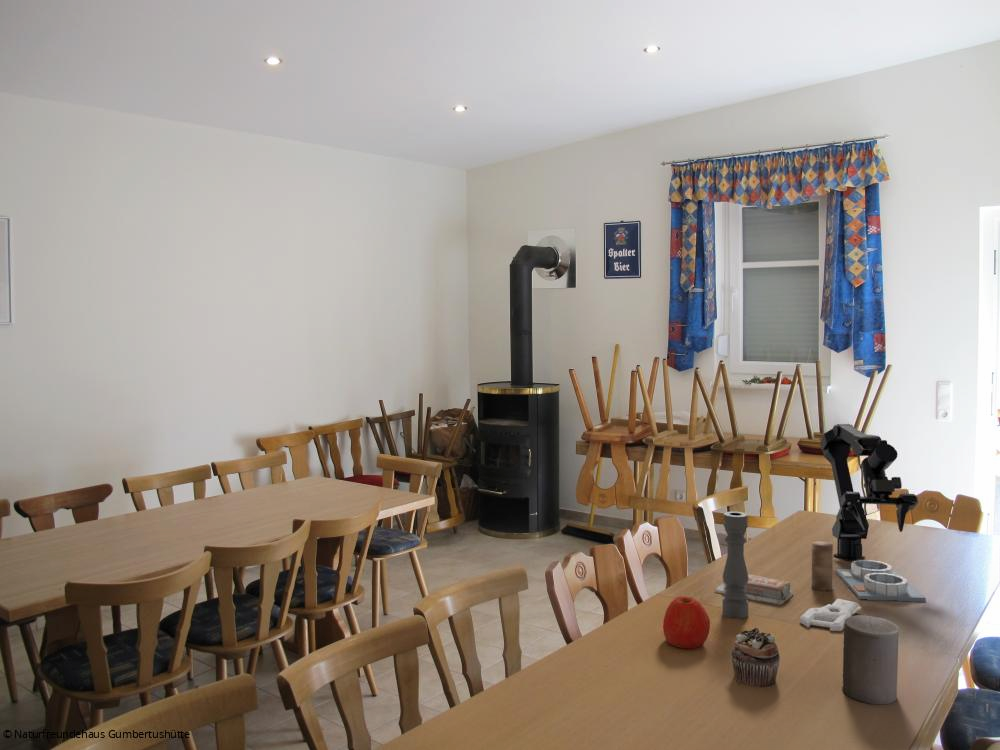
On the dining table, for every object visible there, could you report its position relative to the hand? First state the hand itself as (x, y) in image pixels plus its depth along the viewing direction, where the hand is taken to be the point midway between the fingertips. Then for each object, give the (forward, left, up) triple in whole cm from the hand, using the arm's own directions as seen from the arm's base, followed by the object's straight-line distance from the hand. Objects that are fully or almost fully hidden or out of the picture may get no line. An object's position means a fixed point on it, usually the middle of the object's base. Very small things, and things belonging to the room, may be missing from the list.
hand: (883, 530), depth 218 cm
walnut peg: (-6, -15, -15) cm, 23 cm away
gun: (+12, -31, -16) cm, 37 cm away
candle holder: (-1, -49, -15) cm, 52 cm away
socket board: (0, -1, -15) cm, 15 cm away
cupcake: (+29, -70, -15) cm, 78 cm away
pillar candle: (+44, -55, -15) cm, 72 cm away
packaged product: (-11, -35, -16) cm, 40 cm away
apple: (+8, -71, -15) cm, 74 cm away
